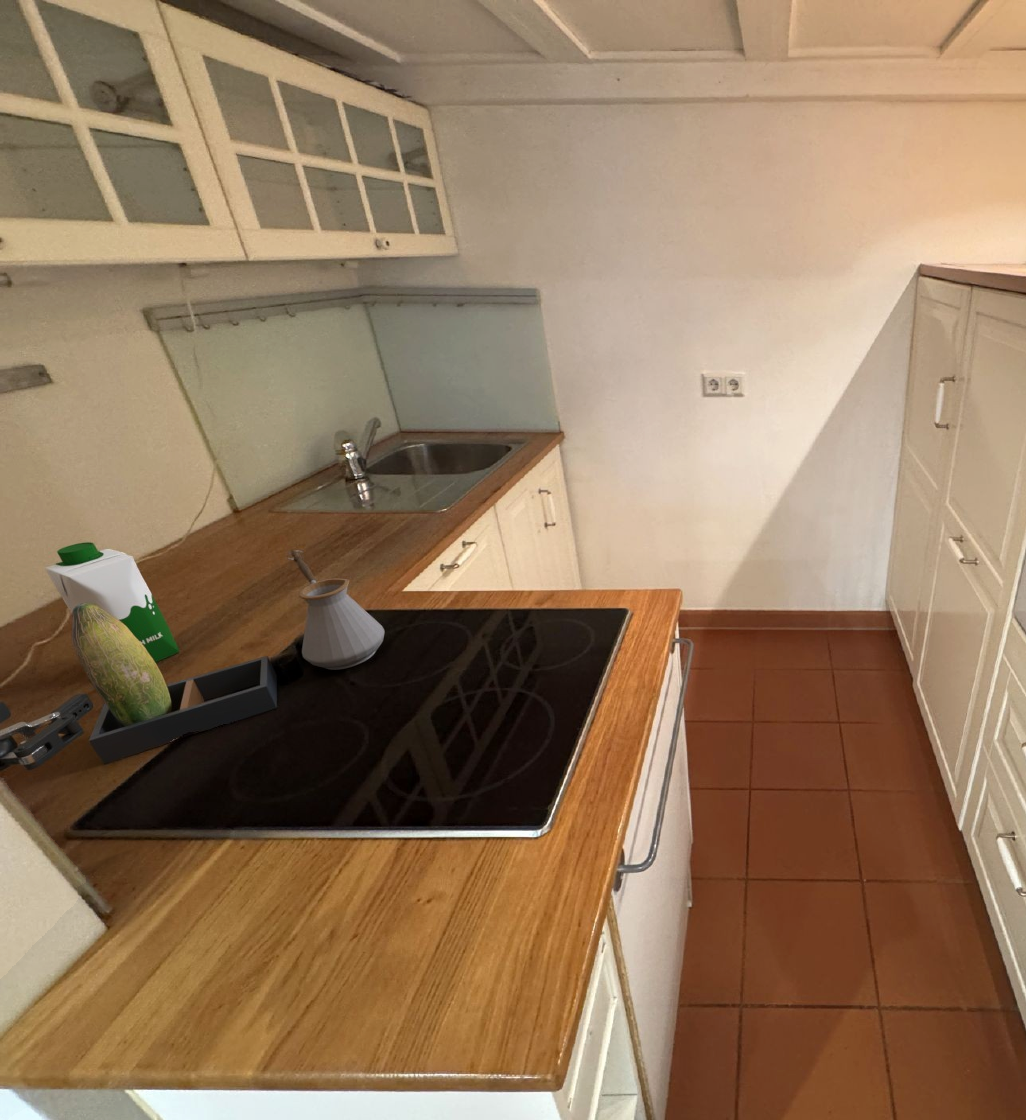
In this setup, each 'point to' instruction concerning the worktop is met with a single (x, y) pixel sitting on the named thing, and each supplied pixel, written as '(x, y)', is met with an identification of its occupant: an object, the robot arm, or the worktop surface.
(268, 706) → the divided tray
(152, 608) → the milk carton
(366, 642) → the coffee pot
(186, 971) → the worktop surface
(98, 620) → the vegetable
